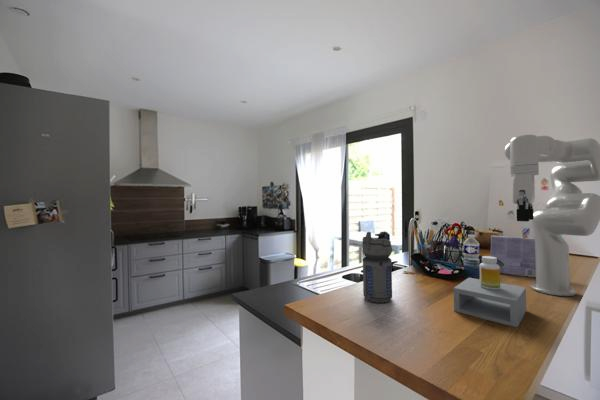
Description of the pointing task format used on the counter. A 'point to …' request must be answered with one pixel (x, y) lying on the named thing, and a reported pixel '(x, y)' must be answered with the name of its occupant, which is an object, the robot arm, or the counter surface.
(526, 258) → the cake pan box
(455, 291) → the shelf unit
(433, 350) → the counter surface
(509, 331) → the counter surface
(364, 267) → the beverage bottle
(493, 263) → the supplement bottle
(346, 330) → the counter surface
